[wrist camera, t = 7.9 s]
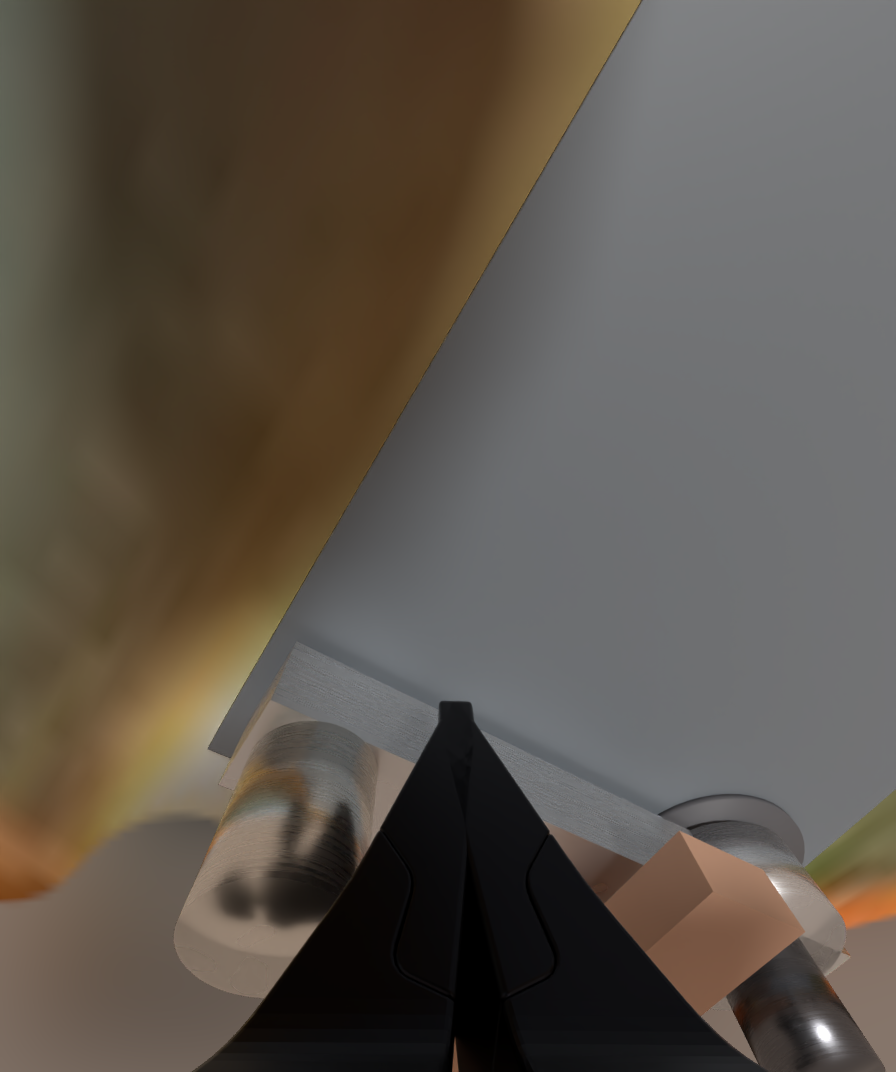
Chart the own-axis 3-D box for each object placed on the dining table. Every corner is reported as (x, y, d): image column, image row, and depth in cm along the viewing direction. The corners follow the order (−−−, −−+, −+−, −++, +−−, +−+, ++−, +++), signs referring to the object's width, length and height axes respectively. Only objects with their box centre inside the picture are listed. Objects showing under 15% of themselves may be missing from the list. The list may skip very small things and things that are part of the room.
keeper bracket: (432, 892, 16) (438, 1138, 11) (602, 693, 14) (713, 891, 9) (492, 914, 17) (524, 1158, 12) (666, 727, 14) (805, 931, 9)
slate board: (225, 716, 13) (204, 755, 12) (703, -107, 8) (759, -201, 7) (690, 910, 17) (712, 955, 16) (1205, 446, 12) (1300, 457, 11)
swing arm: (824, 857, 14) (1021, 1096, 10) (716, 948, 16) (844, 1199, 11) (321, 601, 10) (241, 793, 6) (230, 749, 12) (104, 1006, 7)
